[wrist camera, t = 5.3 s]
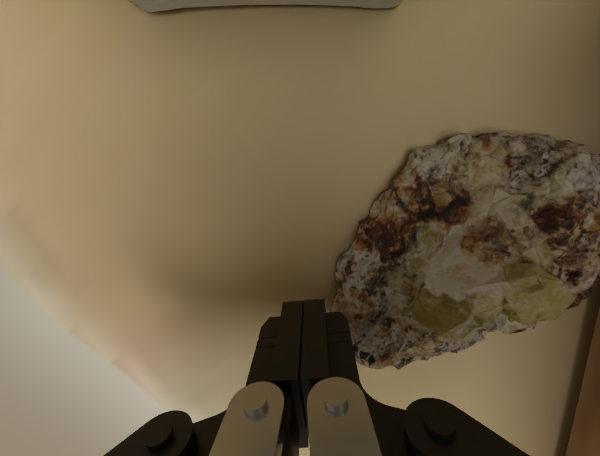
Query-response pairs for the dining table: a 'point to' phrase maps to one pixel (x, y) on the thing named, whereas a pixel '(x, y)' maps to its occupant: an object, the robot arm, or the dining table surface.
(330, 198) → the dining table surface
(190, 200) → the dining table surface
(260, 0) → the skincare box
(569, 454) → the door
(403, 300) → the mineral rock
